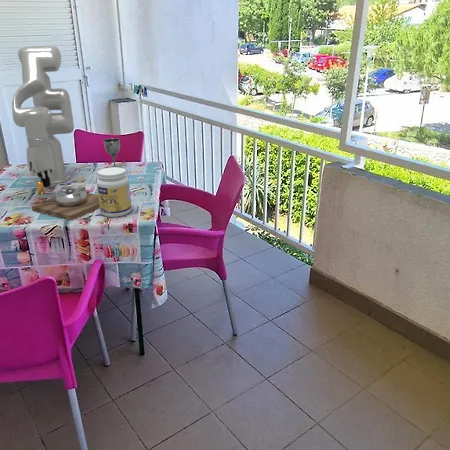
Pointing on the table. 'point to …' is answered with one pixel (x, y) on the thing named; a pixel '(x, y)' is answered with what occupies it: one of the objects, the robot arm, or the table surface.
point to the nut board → (68, 208)
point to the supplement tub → (113, 192)
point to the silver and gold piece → (64, 195)
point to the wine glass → (112, 147)
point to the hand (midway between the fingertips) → (46, 186)
